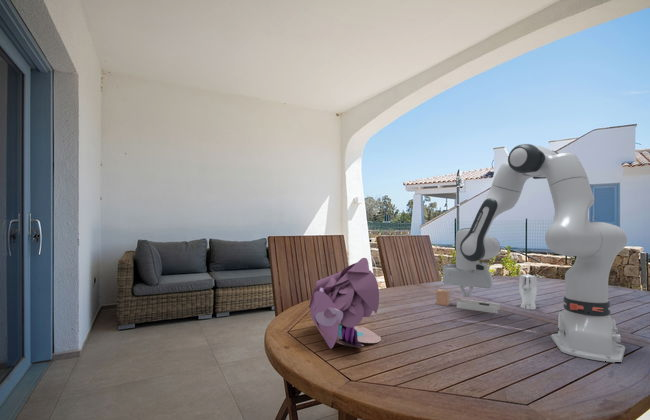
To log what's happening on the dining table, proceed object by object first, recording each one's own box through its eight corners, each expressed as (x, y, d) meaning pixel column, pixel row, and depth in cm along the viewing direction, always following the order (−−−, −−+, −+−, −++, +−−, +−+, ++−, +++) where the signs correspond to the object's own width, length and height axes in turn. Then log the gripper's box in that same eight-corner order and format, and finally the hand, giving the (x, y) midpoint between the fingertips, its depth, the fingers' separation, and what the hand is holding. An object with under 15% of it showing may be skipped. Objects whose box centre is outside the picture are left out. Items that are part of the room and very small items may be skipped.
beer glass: (540, 312, 149) (540, 277, 149) (524, 311, 149) (524, 276, 149) (531, 308, 156) (531, 274, 156) (516, 307, 156) (515, 274, 156)
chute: (497, 316, 142) (497, 307, 142) (456, 310, 151) (456, 302, 151) (499, 311, 148) (499, 303, 148) (460, 306, 157) (460, 298, 157)
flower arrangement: (400, 367, 103) (421, 275, 104) (329, 363, 94) (353, 263, 95) (348, 322, 136) (365, 252, 136) (292, 317, 127) (310, 241, 127)
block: (447, 305, 154) (447, 292, 154) (436, 304, 157) (436, 290, 157) (450, 303, 158) (450, 290, 158) (439, 302, 161) (439, 289, 161)
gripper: (440, 264, 155) (441, 295, 154) (490, 267, 144) (491, 300, 143) (444, 262, 160) (444, 292, 160) (492, 265, 149) (493, 297, 149)
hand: (467, 296), depth 152 cm, fingers closed
